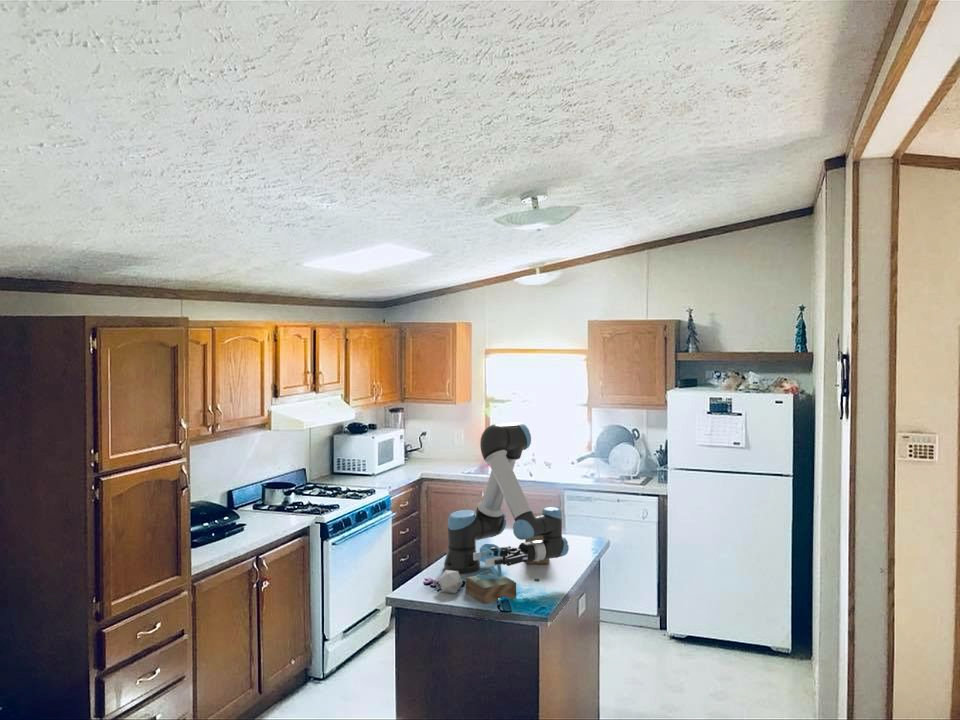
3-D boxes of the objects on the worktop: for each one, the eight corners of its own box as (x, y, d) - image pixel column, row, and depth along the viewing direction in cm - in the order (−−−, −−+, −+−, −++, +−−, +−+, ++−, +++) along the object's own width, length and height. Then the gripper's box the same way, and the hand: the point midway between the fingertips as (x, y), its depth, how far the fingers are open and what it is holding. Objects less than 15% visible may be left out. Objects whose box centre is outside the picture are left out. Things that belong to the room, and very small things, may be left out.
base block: (483, 603, 278) (483, 587, 277) (465, 592, 290) (465, 577, 290) (516, 597, 284) (516, 581, 284) (497, 586, 297) (497, 571, 296)
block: (549, 558, 335) (548, 512, 334) (549, 564, 325) (548, 518, 324) (526, 557, 336) (526, 512, 335) (525, 564, 326) (525, 517, 325)
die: (447, 598, 286) (462, 577, 286) (430, 584, 289) (446, 563, 290) (454, 599, 293) (469, 579, 294) (438, 585, 297) (453, 565, 298)
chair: (494, 581, 281) (494, 548, 281) (475, 577, 286) (475, 545, 286) (505, 575, 288) (505, 544, 288) (486, 572, 292) (486, 540, 292)
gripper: (546, 568, 286) (493, 577, 275) (517, 554, 305) (466, 562, 294) (546, 548, 285) (493, 557, 275) (516, 535, 305) (466, 543, 294)
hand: (479, 559), depth 285 cm, fingers open, 9 cm apart
